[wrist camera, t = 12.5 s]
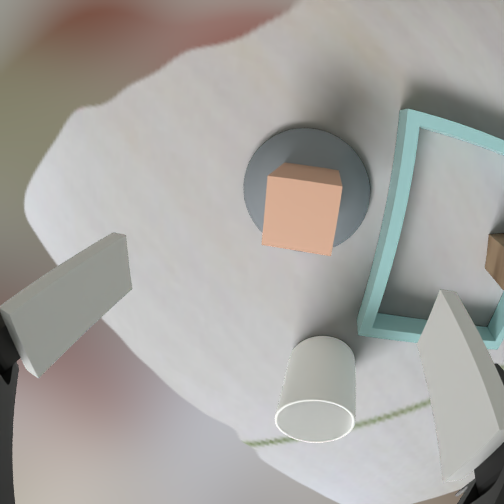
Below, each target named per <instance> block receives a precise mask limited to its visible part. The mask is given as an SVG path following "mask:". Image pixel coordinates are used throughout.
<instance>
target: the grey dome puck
mask: <svg viewBox="0 0 504 504" xmlns="http://www.w3.org/2000/svg"><path fill="white" fill-rule="evenodd" d="M283 163H292V164H300V165H307V166H314V167H321V168H328V169H334V170H339V174H340V178H341V182H342V186H343V187H342V194H341V200H340V207H339V213H338V219H337V225H336V231H335V236H334V242H333V247H335V246H337V245H339V244H341V243H342V242H344V241H345V240H347V239H348V238H349V237H350V236H351V235H352V234H353V233H354V232H355V231H356V230H357V229H358V227H359V226H360V225H361V223H362V221H363V219H364V217H365V215H366V212H367V209H368V205H369V199H370V185H369V179H368V175H367V172H366V169H365V167H364V165H363V163H362V161H361V159H360V158H359V156H358V155H357V154H356V152H355V151H354V150H353V149H352V148H351V147H350V146H349V145H348V144H347V143H346V142H344V141H343V140H341V139H340V138H338V137H337V136H335V135H333V134H331V133H328V132H325V131H322V130H317V129H310V128H299V129H292V130H288V131H285V132H282V133H279V134H277V135H275V136H273V137H272V138H270V139H269V140H267V141H266V142H265V143H264V144H263V145H262V146H261V147H260V148H259V149H258V150H257V151H256V152H255V154H254V155H253V157H252V158H251V160H250V162H249V164H248V167H247V170H246V173H245V178H244V199H245V203H246V207H247V210H248V212H249V215H250V216H251V218H252V220H253V222H254V223H255V225H256V226H257V227H258V229H259V230H260V231H261V232H262V233H263V223H264V212H265V200H266V189H267V177H268V175H269V174H270V173H272V172H273V171H274V170H276V169H277V168H278V167H279V166H281V165H282V164H283ZM295 251H297V250H295ZM300 252H303V251H300Z"/></svg>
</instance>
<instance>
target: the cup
mask: <svg viewBox="0 0 504 504" xmlns="http://www.w3.org/2000/svg"><path fill="white" fill-rule="evenodd" d="M355 410H356V377H355V358H354V354H353V352H352V350H351V349H350V347H349V346H348V345H347V344H346V343H344V342H343V341H341V340H339V339H337V338H334V337H330V336H315V337H311V338H308V339H306V340H304V341H302V342H300V343H299V344H298V345H297V346H296V347H295V348H294V349H293V351H292V352H291V355H290V357H289V361H288V365H287V369H286V374H285V378H284V382H283V386H282V390H281V395H280V399H279V403H278V407H277V411H276V414H275V423H276V425H277V427H278V428H279V430H280V431H282V432H283V433H284V434H286V435H287V436H289V437H291V438H293V439H296V440H300V441H304V442H312V443H322V442H329V441H334V440H337V439H339V438H342V437H344V436H345V435H347V434H348V433H349V432H350V431H351V430H352V429H353V427H354V425H355Z"/></svg>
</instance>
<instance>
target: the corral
mask: <svg viewBox="0 0 504 504" xmlns="http://www.w3.org/2000/svg"><path fill="white" fill-rule="evenodd" d="M419 128H422V129H426V130H429V131H433V132H436V133H440V134H443V135H447V136H450V137H453V138H456V139H459V140H462V141H465V142H468V143H471V144H474V145H477V146H480V147H483V148H485V149H488V150H491V151H493V152H496V153H498V154H501V155H503V156H504V140H502V139H499V138H497V137H494V136H492V135H489V134H487V133H484V132H482V131H479V130H476V129H473V128H471V127H468V126H465V125H462V124H459V123H456V122H453V121H450V120H447V119H444V118H440V117H437V116H434V115H430V114H427V113H423V112H419V111H416V110H412V109H404V110H400V113H399V123H398V132H397V140H396V148H395V155H394V161H393V168H392V174H391V180H390V186H389V192H388V197H387V202H386V207H385V212H384V217H383V222H382V226H381V231H380V235H379V240H378V244H377V248H376V252H375V256H374V260H373V264H372V268H371V272H370V276H369V279H368V283H367V287H366V290H365V294H364V297H363V301H362V304H361V307H360V310H359V314H358V317H357V327H358V335H360V336H367V337H374V338H381V339H389V340H397V341H405V342H414V343H418V341H419V338H420V336H421V334H422V332H423V330H424V327H425V325H426V323H427V320H424V319H417V318H410V317H402V316H395V315H388V314H382V313H377V312H378V309H379V306H380V303H381V300H382V297H383V294H384V291H385V288H386V284H387V281H388V278H389V274H390V271H391V267H392V264H393V260H394V256H395V253H396V249H397V245H398V241H399V237H400V233H401V229H402V225H403V220H404V216H405V211H406V207H407V202H408V197H409V192H410V186H411V181H412V175H413V169H414V163H415V157H416V150H417V143H418V135H419ZM475 327H476V328H477V330H478V332H479V334H480V336H481V338H482V340H483V342H484V344H485V346H486V348H487V349H497V350H498V348H499V346H500V344H501V342H502V341H503V339H504V292H503V294H502V297H501V299H500V301H499V304H498V306H497V308H496V310H495V312H494V314H493V316H492V319H491V321H490V323H489V325H488V327H483V326H475Z"/></svg>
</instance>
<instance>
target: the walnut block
mask: <svg viewBox="0 0 504 504" xmlns="http://www.w3.org/2000/svg"><path fill="white" fill-rule="evenodd" d="M485 269H486V270H487V271H488V272H489V274H490V275H491V276H492V277H493V278H494V280H495V281H496V282H497V283H498V284H499V286H500V287H501V288H502V289H503V290H504V233H499V234H489V238H488V248H487V256H486V264H485Z"/></svg>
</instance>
